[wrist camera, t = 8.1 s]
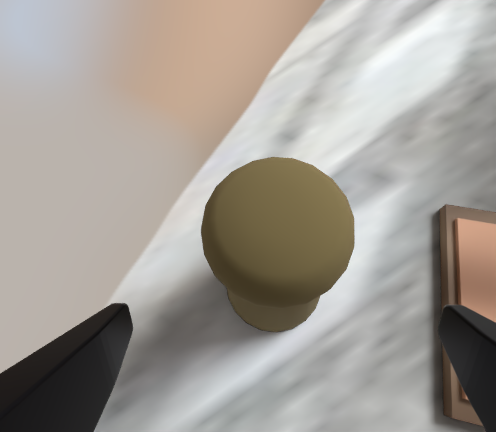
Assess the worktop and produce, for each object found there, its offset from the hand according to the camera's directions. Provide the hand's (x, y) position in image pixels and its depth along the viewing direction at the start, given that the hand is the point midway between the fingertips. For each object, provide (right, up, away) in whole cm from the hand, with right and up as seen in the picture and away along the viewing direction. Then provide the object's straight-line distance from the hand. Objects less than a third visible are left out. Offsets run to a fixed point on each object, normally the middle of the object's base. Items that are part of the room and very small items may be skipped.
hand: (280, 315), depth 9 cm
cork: (+1, -1, +11) cm, 11 cm away
